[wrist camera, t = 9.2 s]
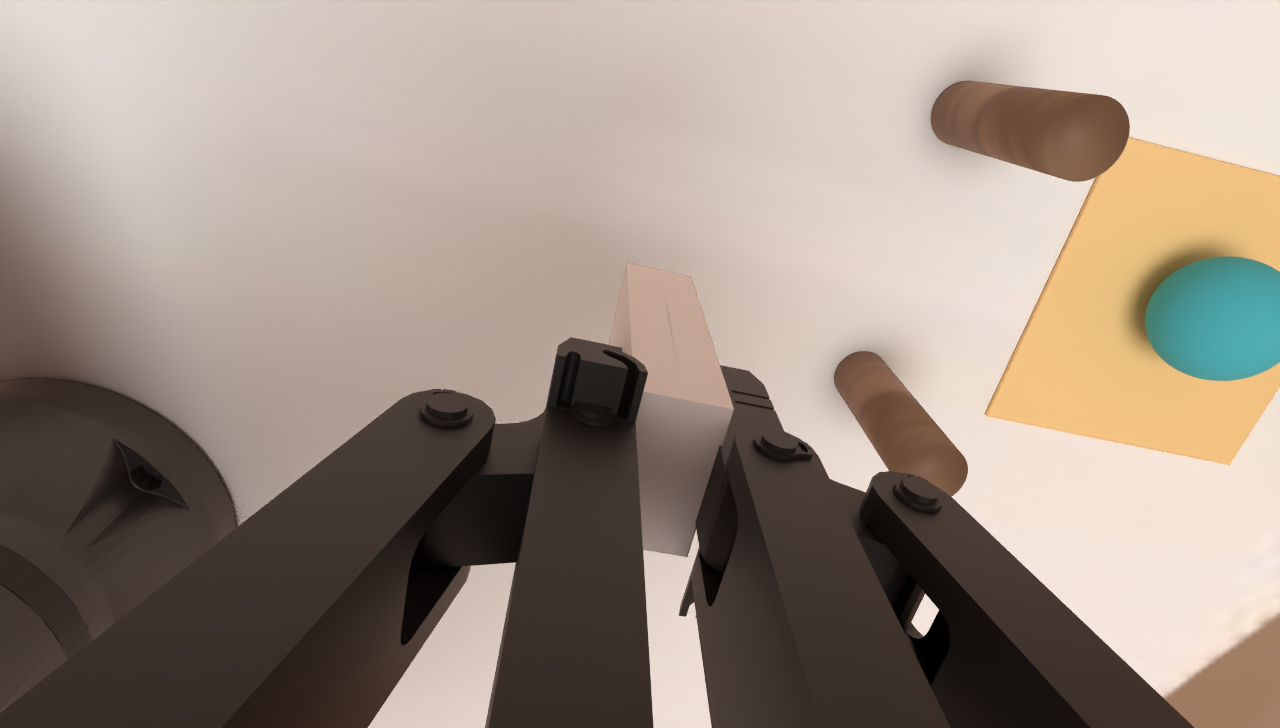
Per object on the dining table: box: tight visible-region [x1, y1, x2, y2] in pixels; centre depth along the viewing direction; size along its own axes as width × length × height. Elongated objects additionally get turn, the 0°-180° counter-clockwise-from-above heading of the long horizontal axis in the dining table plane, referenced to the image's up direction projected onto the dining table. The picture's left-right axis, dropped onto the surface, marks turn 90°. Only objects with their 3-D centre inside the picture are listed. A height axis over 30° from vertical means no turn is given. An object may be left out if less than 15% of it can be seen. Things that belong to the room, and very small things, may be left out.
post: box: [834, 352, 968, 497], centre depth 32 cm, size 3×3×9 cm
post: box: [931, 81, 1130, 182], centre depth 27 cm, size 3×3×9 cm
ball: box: [1145, 257, 1280, 381], centre depth 32 cm, size 6×6×6 cm
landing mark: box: [985, 138, 1280, 465], centre depth 35 cm, size 14×14×1 cm
